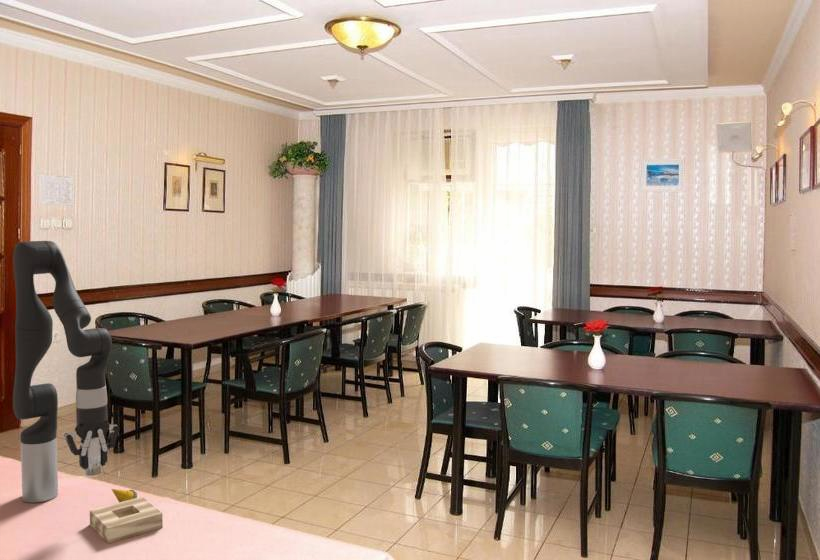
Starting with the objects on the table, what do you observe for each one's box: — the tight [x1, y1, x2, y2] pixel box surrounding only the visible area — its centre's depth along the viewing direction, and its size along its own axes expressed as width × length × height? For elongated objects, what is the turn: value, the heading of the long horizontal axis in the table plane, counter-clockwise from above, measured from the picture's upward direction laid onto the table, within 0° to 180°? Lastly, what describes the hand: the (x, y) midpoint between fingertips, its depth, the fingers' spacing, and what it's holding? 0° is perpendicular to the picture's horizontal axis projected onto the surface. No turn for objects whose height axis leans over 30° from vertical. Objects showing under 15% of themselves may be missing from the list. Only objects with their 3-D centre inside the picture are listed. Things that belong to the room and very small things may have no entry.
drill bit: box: [111, 488, 138, 503], centre depth 193 cm, size 5×5×10 cm
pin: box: [84, 437, 103, 477], centre depth 182 cm, size 4×4×10 cm
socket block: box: [89, 496, 164, 544], centre depth 182 cm, size 14×14×4 cm
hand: (93, 466), depth 183 cm, fingers closed on pin, 4 cm apart
